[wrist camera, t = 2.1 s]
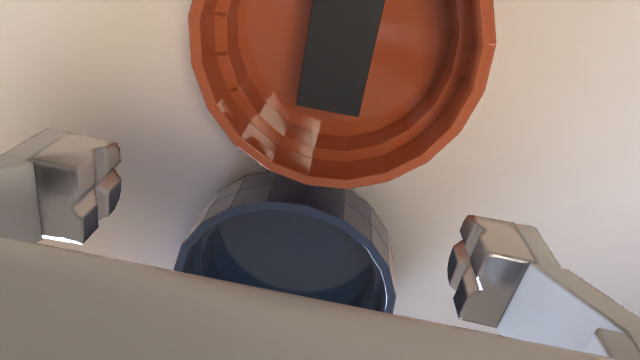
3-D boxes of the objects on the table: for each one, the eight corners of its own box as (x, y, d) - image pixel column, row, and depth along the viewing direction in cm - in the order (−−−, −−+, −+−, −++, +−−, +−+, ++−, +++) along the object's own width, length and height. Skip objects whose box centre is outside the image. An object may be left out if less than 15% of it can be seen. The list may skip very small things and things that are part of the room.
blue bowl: (274, 124, 31) (259, 155, 26) (433, 251, 34) (443, 296, 30) (161, 256, 37) (134, 299, 33) (306, 352, 41) (299, 402, 36)
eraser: (322, -33, 26) (316, -29, 22) (385, -20, 26) (388, -15, 22) (303, 87, 29) (295, 105, 26) (359, 98, 29) (358, 117, 26)
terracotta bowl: (328, -186, 23) (319, -220, 18) (526, 21, 27) (563, 39, 22) (173, 47, 29) (135, 69, 24) (352, 190, 33) (350, 233, 28)
